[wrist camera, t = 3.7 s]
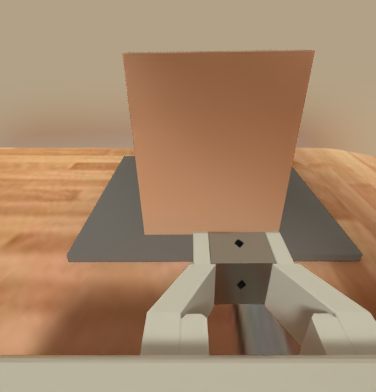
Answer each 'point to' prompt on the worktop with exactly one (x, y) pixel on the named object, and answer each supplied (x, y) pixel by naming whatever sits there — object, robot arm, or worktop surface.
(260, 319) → the worktop surface
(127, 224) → the mat
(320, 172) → the worktop surface
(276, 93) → the tile
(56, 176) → the worktop surface
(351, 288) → the worktop surface
